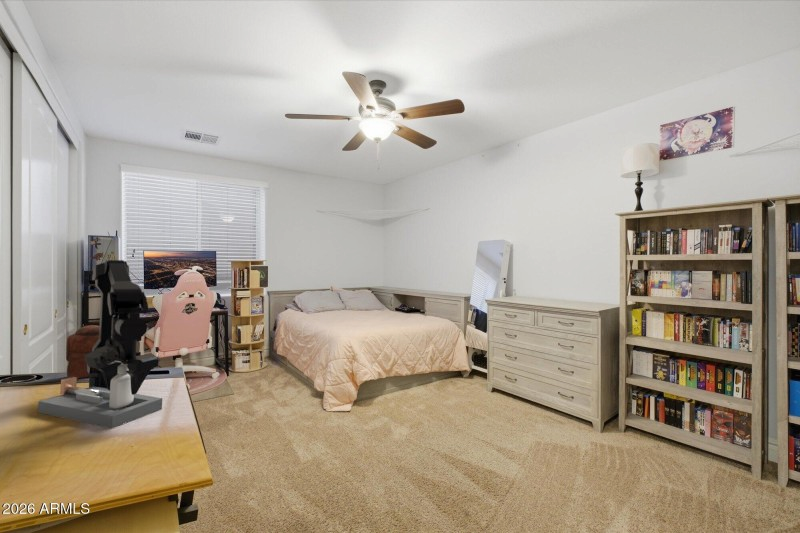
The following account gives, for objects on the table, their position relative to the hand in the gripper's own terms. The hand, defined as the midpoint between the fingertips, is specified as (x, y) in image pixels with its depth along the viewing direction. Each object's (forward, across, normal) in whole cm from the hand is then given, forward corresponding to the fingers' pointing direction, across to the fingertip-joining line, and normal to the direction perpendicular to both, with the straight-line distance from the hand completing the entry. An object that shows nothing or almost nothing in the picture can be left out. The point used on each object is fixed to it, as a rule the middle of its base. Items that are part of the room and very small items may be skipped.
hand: (122, 392), depth 98 cm
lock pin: (+3, -15, 0) cm, 16 cm away
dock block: (+6, -7, 0) cm, 9 cm away
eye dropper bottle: (+4, 0, 0) cm, 4 cm away
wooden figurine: (+6, -44, +20) cm, 49 cm away
